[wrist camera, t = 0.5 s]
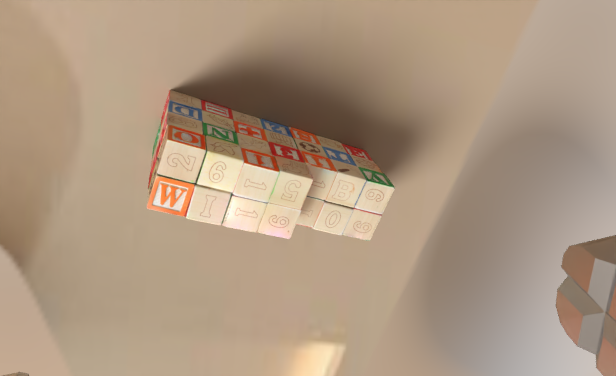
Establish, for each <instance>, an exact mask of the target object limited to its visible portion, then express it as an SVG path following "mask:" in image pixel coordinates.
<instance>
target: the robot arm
mask: <svg viewBox="0 0 616 376" xmlns="http://www.w3.org/2000/svg"><path fill="white" fill-rule="evenodd" d="M561 267H562V269H563V270H564V271H565V272H566V274H567V275H568V277H567V278H566V279H565V280H564V282H563V283H562V284H561V285H560V287H559V288H558V289H557V298H556V308H557V312H558V316H559V320H560V323H561V325H562V326H563V328H564V330H565V332H566V333H567V335H568V336H569V337H570V338H571V339H572V341H573V342H574V343H575V344H576V345H577V346H578V347H580V348H583V349H585V350H587V351H589V352H591V353H593V354H596V368H597V369H598V370H599V371H600V372H601V374H602V375H603V376H616V235H614V236H609V237H605V238H601V239H597V240H592V241H588V242H584V243H580V244H576V245H571V246H569V247H568V249H567V250H566V251H565V253H564V255H563V260H562V265H561ZM3 376H29V374H27V373H21V372H18V373H13V374H8V375H3Z"/></svg>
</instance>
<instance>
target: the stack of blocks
mask: <svg viewBox="0 0 616 376" xmlns="http://www.w3.org/2000/svg"><path fill="white" fill-rule="evenodd" d="M394 189H395V187H394V186H393V184H392V183H391V182H390V180H389V179H388V178H387V176H386V175H385V174H383V173H382V171H381V170H380V169H379V168H378V166H377V165H376V163H375V162H373V160H372V159H371V157H370V156H369V155H368V153H367V152H366V151H365V150H362V149H358V148H355V147H352V146H348V145H344V144H341V143H340V142H338V141H334V140H331V139H328V138H324V137H321V136H318V135H314V134H312V133H309V132H305V131H302V130H299V129H296V128H292V127H286V126H283V125H280V124H277V123H274V122H270V121H267V120H264V119H259V118H257V117H253V116H250V115H247V114H244V113H240V112H237V111H234V110H231V109H230V108H226V107H223V106H220V105H217V104H213V103H210V102H207V101H204V100H200V99H198V98H195V97H192V96H189V95H185V94H182V93H179V92H176V91H173V90H170V91H169V95H168V98H167V101H166V105H165V108H164V112H163V115H162V120H161V124H160V127H159V130H158V133H157V137H156V140H155V143H154V147H153V155H152V164H151V172H150V177H149V185H148V190H149V192H148V200H147V209H151V210H155V211H160V212H165V213H169V214H174V215H179V216H185V217H186V218H187V219H191V220H196V221H201V222H206V223H211V224H216V225H221V224H222V225H223V226H225V227H229V228H234V229H239V230H244V231H249V232H258V233H261V234H266V235H271V236H276V237H281V238H286V239H290V238H291V235H292V233H293V230H294V228H295V225H296V224H297V225H302V226H306V227H310V228H313V229H315V230H320V231H324V232H328V233H333V234H337V235H346V236H349V237H354V238H358V239H362V240H367V241H370V239H371V237H372V235H373V233H374V231H375V229H376V227H377V225H378V223H379V221H380V219H381V217H382V213H383V212H384V210H385V208H386V206H387V204H388V202H389V199H390V197H391V195H392V193H393V191H394Z"/></svg>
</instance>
